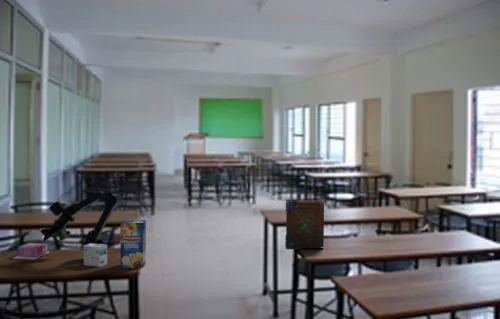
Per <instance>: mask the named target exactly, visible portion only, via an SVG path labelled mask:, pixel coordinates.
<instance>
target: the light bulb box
mask: <svg viewBox="0 0 500 319" xmlns="http://www.w3.org/2000/svg"><path fill="white" fill-rule="evenodd" d="M82 247H83V265H84V266H88V267H89V266H90V267H99V268H101V267H103V266H105V265H108V244H104V245H103V244H92V243H90V244H85V245H83V246H82Z"/></svg>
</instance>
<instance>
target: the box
mask: <svg viewBox="0 0 500 319" xmlns="http://www.w3.org/2000/svg"><path fill="white" fill-rule="evenodd" d="M17 249H18V250H17V251H18V252H17V253H18V255H17V256H21V257H36V259H38V258H40V257H39V256H41V257H42V255H43V256H45V255H47V254H48V253H47V252H48V243H35V242H28V243H26V244H22V245H20V246H18V248H17ZM44 254H45V255H44ZM37 257H38V258H37Z"/></svg>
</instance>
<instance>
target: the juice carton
mask: <svg viewBox="0 0 500 319" xmlns="http://www.w3.org/2000/svg"><path fill="white" fill-rule="evenodd" d="M119 225H120V227H119V228H120V229H119V230H120V231H119V234H120V239H119V240H120V241H119V243H120V268H122V269H125V268H126V269H129V268H130V269H133V268H134V269H142V268H144V267H145V266H147V265H146V264H147V232H146V231H147V226H146V225H147V220H146V219H124V220H122V221H121V222H120V224H119Z"/></svg>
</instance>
